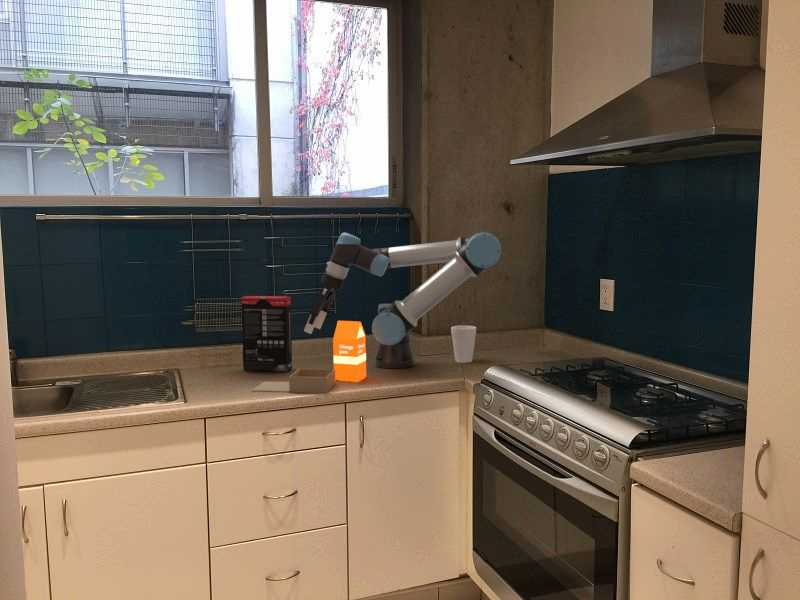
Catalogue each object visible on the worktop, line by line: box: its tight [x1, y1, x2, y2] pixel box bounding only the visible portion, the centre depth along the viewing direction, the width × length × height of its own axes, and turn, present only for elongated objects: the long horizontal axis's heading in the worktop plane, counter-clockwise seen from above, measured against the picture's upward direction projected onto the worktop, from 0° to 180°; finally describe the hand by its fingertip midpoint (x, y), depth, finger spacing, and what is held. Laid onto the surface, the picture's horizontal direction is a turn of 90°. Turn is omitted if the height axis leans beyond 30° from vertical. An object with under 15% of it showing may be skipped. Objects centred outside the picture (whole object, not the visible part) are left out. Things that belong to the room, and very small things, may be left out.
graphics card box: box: [240, 295, 293, 373], centre depth 251 cm, size 17×7×27 cm, turn 84°
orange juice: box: [332, 320, 367, 383], centre depth 237 cm, size 8×9×20 cm
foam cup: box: [450, 325, 477, 364], centre depth 264 cm, size 10×9×13 cm
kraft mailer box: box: [251, 368, 337, 394], centre depth 226 cm, size 25×12×5 cm, turn 82°
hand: (312, 330), depth 247 cm, fingers open, 13 cm apart
